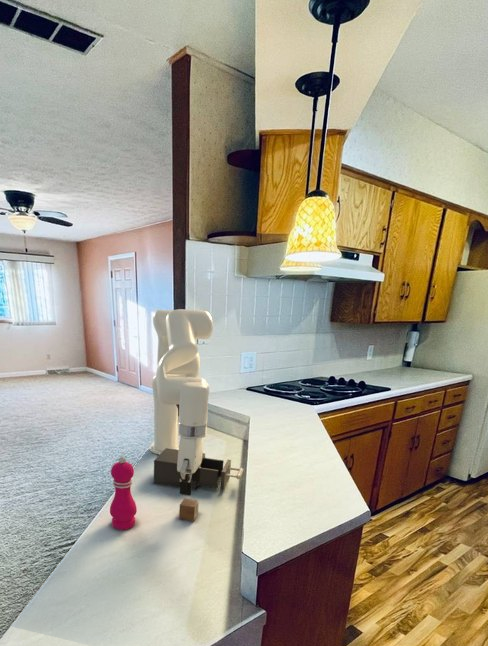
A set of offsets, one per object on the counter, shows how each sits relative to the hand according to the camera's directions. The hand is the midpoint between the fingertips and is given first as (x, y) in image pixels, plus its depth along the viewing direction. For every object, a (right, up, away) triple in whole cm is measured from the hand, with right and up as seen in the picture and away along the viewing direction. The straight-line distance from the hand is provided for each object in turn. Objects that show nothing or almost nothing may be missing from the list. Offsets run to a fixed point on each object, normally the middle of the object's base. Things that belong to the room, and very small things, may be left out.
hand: (190, 487), depth 116 cm
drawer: (+7, 0, +25) cm, 26 cm away
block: (-1, -9, +4) cm, 10 cm away
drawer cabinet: (-5, +1, +27) cm, 28 cm away
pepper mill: (-18, -10, -2) cm, 21 cm away
